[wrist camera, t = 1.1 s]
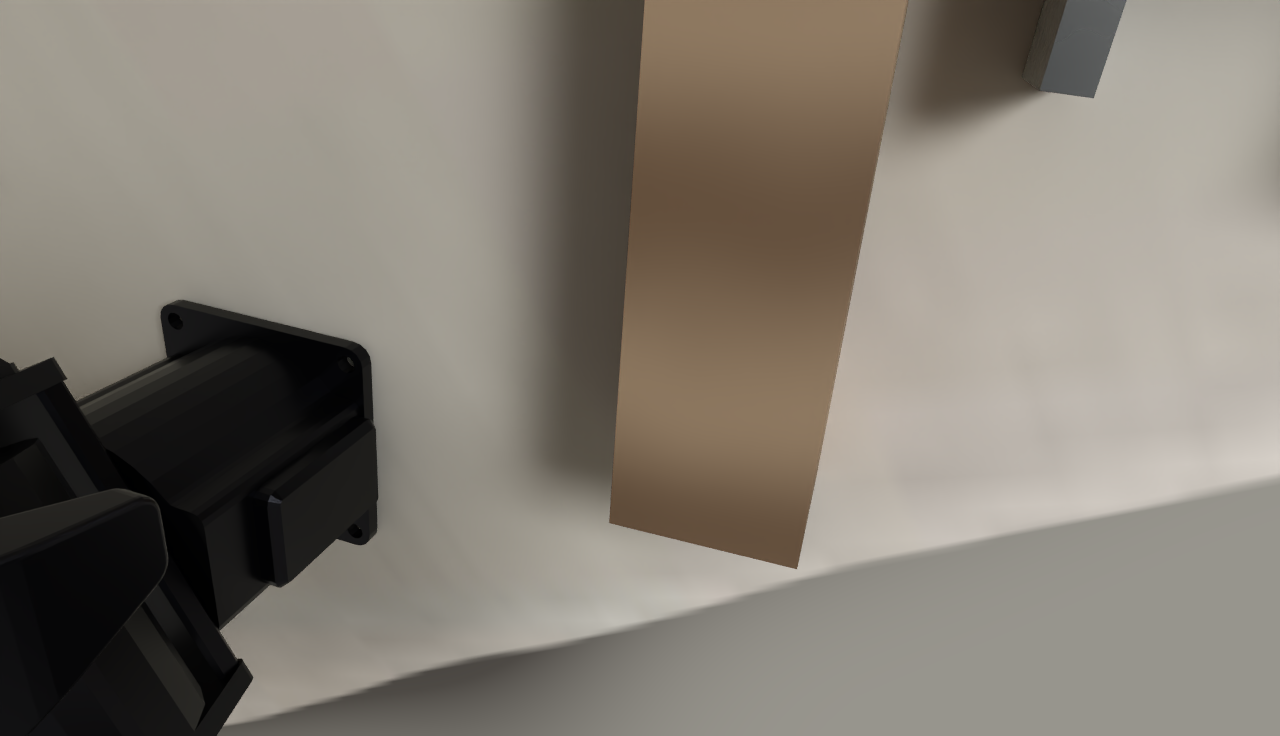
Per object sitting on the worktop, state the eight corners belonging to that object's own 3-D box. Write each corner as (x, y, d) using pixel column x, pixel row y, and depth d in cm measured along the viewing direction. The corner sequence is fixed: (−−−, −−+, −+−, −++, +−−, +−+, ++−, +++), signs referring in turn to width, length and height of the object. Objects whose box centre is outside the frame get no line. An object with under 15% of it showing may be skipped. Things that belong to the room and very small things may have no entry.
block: (817, 469, 20) (796, 569, 17) (660, 435, 21) (608, 523, 17) (952, -226, 14) (964, -299, 11) (723, -230, 15) (665, -299, 11)
